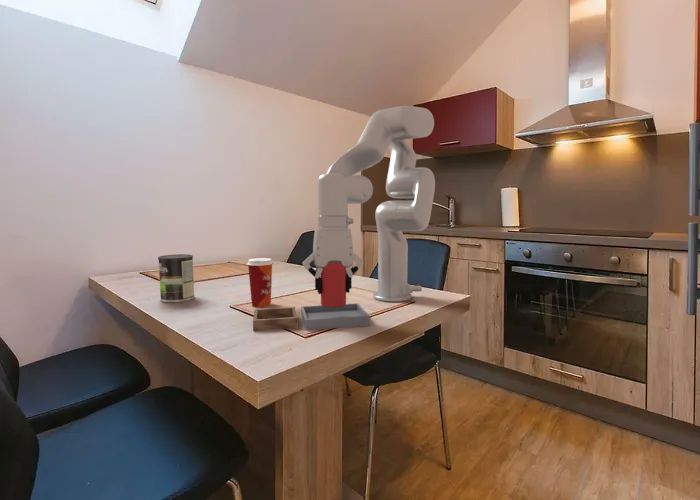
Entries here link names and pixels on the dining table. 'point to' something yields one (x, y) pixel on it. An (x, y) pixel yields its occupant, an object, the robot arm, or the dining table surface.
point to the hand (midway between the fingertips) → (333, 291)
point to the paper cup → (260, 281)
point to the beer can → (333, 285)
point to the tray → (334, 317)
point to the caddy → (275, 318)
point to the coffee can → (176, 277)
